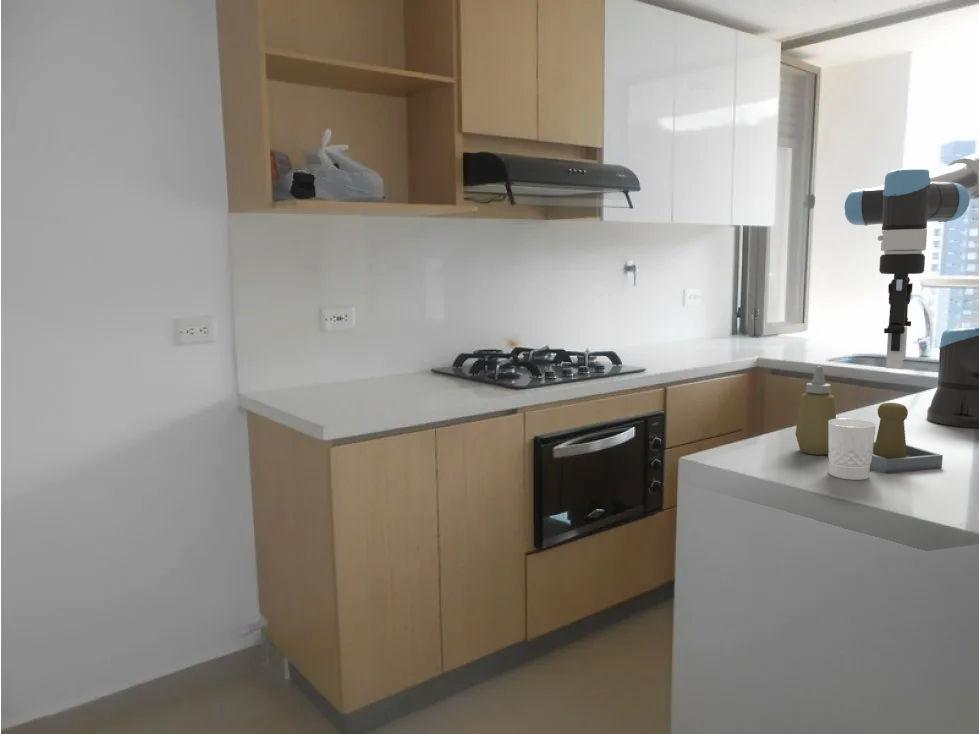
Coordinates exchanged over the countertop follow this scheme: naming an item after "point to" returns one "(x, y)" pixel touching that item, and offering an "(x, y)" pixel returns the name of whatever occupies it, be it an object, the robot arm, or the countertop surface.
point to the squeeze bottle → (815, 415)
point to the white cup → (850, 448)
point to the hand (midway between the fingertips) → (896, 363)
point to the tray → (907, 461)
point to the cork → (891, 431)
